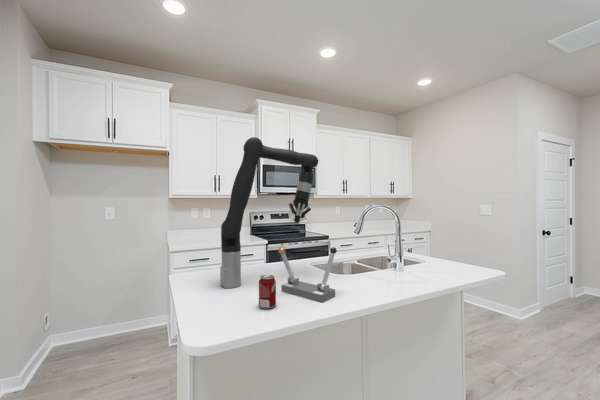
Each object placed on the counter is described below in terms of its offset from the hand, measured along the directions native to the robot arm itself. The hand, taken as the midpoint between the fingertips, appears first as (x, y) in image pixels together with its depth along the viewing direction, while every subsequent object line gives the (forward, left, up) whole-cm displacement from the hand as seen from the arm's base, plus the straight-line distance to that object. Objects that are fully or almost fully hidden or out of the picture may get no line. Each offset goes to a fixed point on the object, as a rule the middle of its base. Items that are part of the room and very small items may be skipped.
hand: (296, 222), depth 150 cm
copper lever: (-11, -13, -27) cm, 32 cm away
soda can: (-31, -24, -30) cm, 50 cm away
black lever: (-8, -30, -27) cm, 41 cm away
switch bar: (-9, -22, -30) cm, 38 cm away
